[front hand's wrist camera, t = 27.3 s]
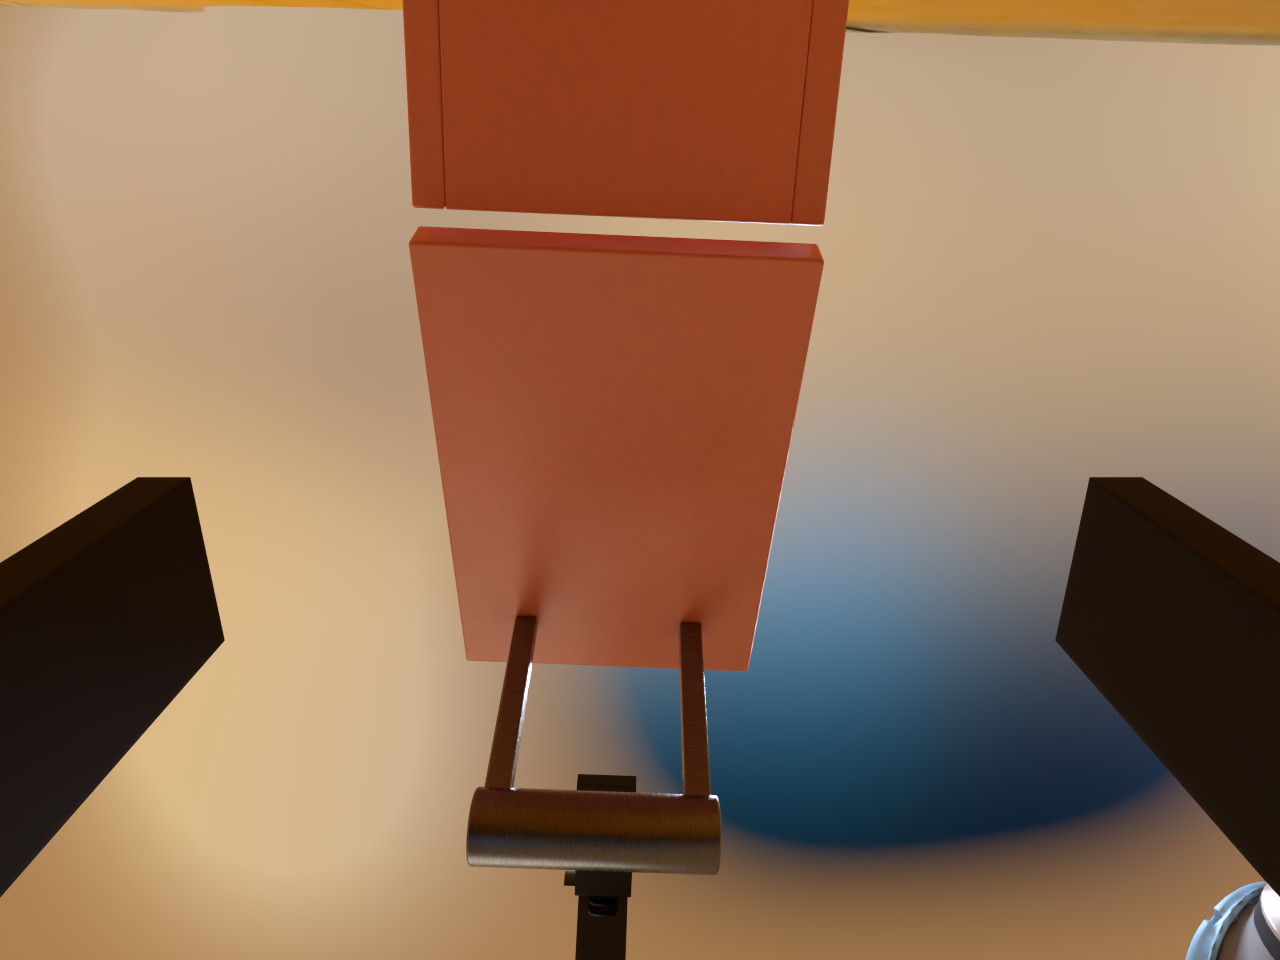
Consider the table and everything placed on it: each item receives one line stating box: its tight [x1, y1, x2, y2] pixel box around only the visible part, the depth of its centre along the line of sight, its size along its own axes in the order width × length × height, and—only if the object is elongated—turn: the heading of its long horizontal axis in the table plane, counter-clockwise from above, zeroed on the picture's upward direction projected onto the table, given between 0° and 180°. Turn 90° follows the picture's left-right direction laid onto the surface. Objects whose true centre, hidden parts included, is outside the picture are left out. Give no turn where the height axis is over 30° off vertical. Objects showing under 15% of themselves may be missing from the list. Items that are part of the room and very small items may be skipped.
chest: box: [403, 0, 849, 226], centre depth 24 cm, size 14×10×10 cm
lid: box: [409, 227, 824, 875], centre depth 21 cm, size 15×10×9 cm
